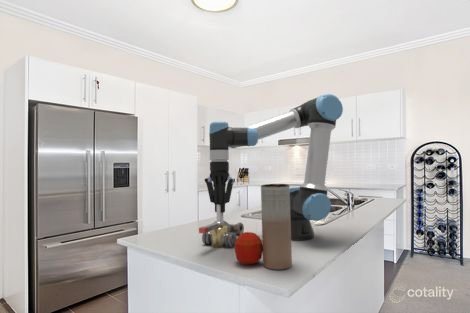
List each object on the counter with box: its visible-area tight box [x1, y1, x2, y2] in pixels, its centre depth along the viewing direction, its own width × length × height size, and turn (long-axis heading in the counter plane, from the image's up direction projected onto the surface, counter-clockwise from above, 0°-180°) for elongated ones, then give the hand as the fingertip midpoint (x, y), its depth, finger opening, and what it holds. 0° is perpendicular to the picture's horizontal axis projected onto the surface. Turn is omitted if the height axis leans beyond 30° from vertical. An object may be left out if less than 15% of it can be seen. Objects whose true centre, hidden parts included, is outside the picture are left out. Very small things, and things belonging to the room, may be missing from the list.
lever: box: [198, 220, 224, 235], centre depth 123 cm, size 15×4×2 cm, turn 153°
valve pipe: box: [201, 226, 238, 249], centre depth 128 cm, size 14×7×8 cm, turn 62°
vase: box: [260, 183, 293, 271], centre depth 102 cm, size 10×10×28 cm
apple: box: [234, 231, 263, 266], centre depth 105 cm, size 10×10×12 cm
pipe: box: [223, 220, 245, 236], centre depth 144 cm, size 16×9×15 cm
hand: (220, 220), depth 116 cm, fingers closed
